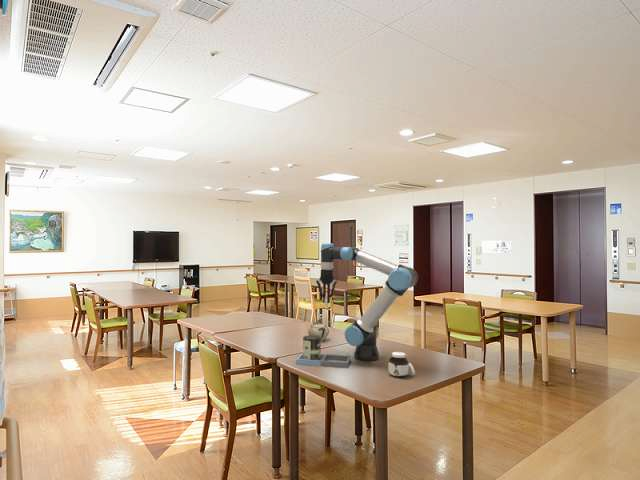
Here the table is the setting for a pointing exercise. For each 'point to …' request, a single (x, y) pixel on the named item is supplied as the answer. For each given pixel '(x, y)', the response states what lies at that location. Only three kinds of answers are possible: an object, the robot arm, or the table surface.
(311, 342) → the coffee can
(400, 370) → the spread jar
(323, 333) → the sugar bowl
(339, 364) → the bay tray
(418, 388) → the table surface
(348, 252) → the robot arm
